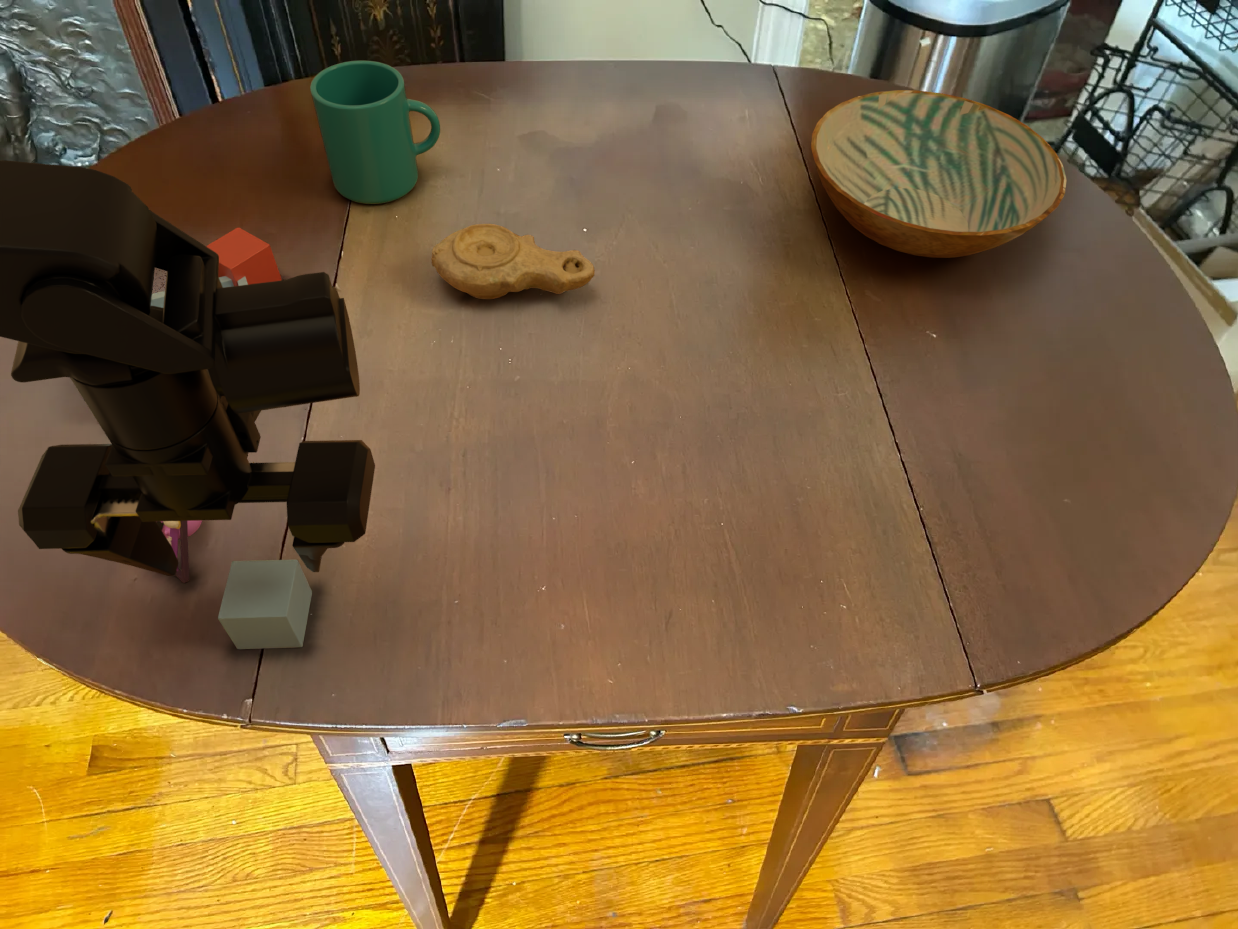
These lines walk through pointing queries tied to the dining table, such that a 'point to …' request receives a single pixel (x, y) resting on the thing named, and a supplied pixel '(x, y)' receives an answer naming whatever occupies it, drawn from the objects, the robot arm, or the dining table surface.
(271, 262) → the red block
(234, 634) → the gray block
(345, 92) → the cup
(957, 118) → the bowl
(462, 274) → the oil lamp
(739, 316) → the dining table surface
